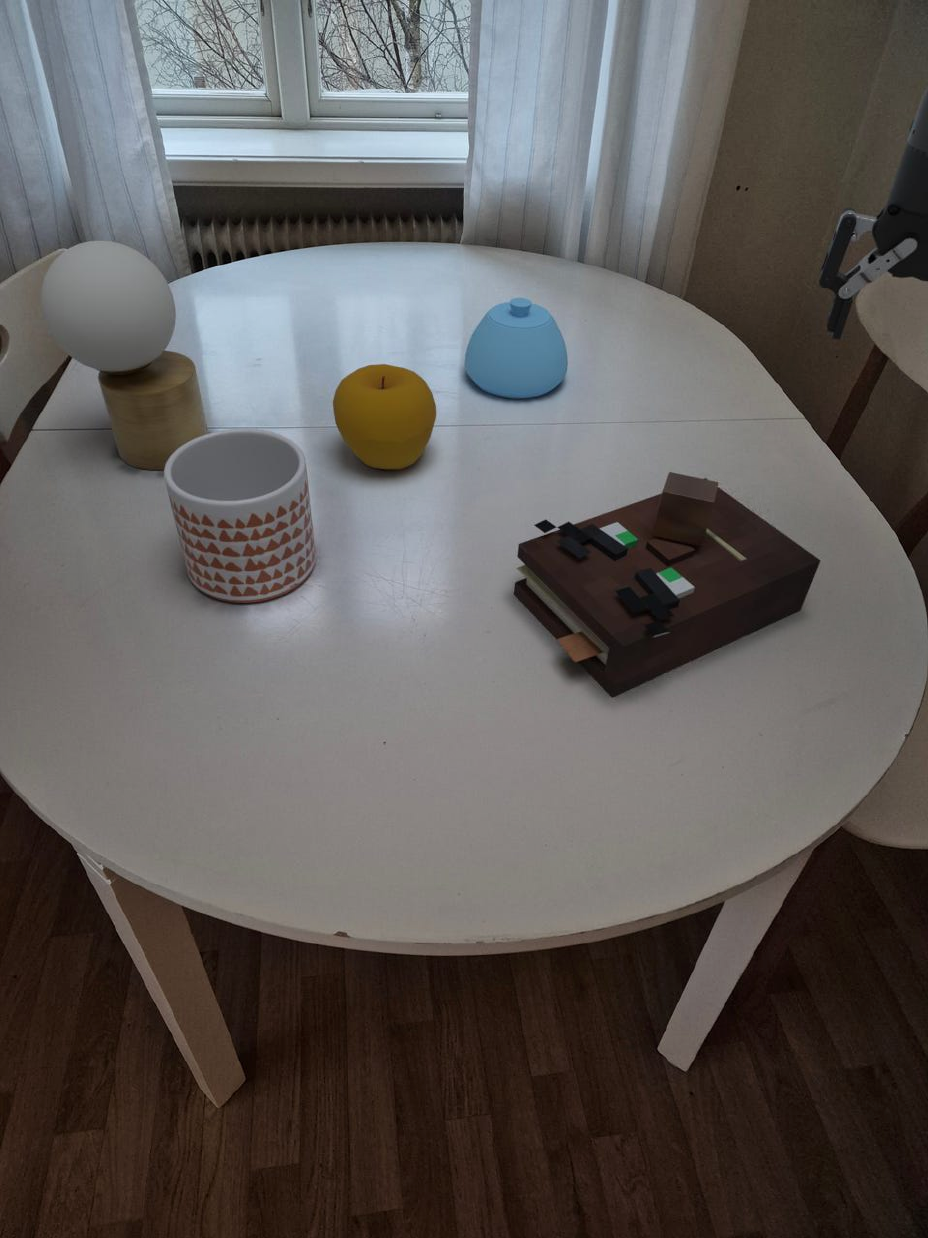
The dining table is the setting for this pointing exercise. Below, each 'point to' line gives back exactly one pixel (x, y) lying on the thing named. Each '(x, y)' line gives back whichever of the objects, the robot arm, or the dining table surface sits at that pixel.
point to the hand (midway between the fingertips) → (885, 343)
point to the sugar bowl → (517, 351)
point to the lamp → (126, 347)
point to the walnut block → (685, 509)
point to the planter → (242, 513)
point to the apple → (385, 415)
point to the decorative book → (659, 588)
